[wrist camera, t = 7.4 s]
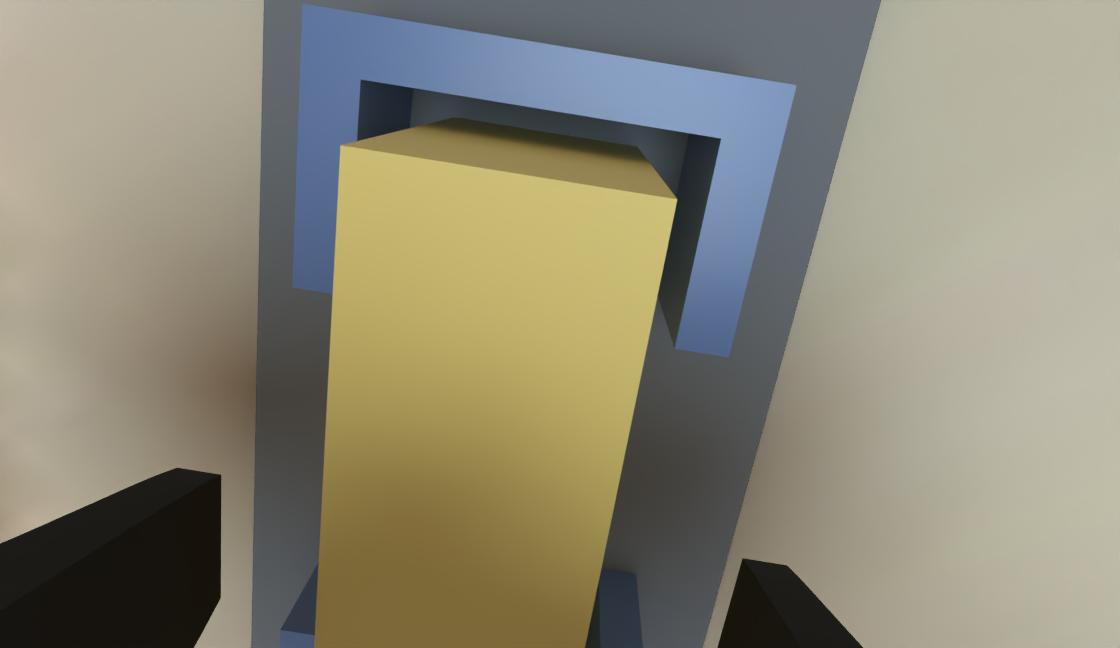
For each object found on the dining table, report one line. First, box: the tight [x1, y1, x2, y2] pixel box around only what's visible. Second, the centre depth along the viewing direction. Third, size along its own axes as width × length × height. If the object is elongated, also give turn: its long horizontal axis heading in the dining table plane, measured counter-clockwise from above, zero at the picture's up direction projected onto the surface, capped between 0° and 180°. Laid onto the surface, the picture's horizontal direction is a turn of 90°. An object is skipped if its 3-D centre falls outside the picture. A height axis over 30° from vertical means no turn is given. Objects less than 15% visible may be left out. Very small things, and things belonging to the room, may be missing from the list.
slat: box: [314, 117, 677, 648], centre depth 11 cm, size 11×3×6 cm, turn 171°
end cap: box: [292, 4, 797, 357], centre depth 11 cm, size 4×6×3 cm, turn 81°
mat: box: [251, 0, 881, 648], centre depth 14 cm, size 19×10×1 cm, turn 171°
